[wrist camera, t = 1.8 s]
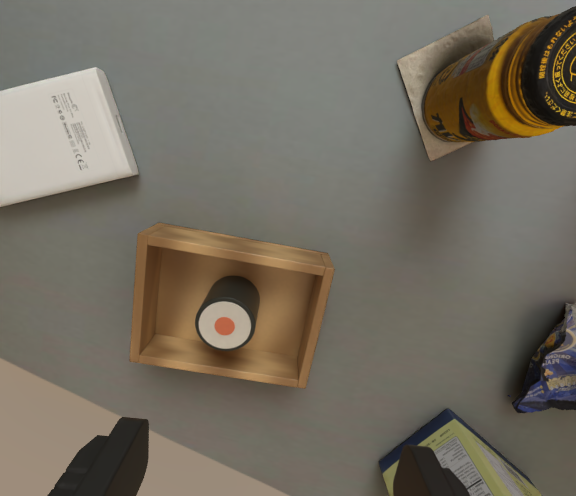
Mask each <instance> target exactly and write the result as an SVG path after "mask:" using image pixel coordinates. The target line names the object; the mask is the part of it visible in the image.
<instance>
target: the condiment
mask: <svg viewBox="0 0 576 496" xmlns="http://www.w3.org/2000/svg"><path fill="white" fill-rule="evenodd" d="M397 63H398V66H399V69H400V71H401V75H402V78H403V81H404V83H405V86H406V90H407V93H408V96H409V98H410V102H411V105H412V108H413V112H414V115H415V118H416V121H417V124H418V127H419V130H420V133H421V136H422V139H423V142H424V145H425V148H426V151H427V154H428V157H429V159H430V161H433V160H435V159H437V158H440V157H442V156H444V155H446V154H448V153H450V152H452V151H454V150H456V149H459V148H461V147H463V146H465V145H467V144H469V143H472V142H475V141H485V140H498V139H507V138H525V137H527V138H529V137H532V136H539V135H542V134H546V133H549V132H552V131H554V130H555V129H558V128H560V127H563V126H570V125H573V126H576V6H575V7H572V8H570V9H569V10H567V11H564V12H562V13H561V14H558V15H555V16H550V17H542V18H538V19H535V20H532V21H530V22H527V23H524V24H523V25H521V26H519V27H517V28H516V29H514V30H513V31H511V32H509V33H507V34H505V35H503V36H502V37H499V38H498V39H497V40H495V41H494V38H493V32H492V26H491V24H490V20H489V16H488V15H486V16H484V17H482V18H480V19H478V20H477V21H475V22H473V23H471V24H469V25H467V26H465V27H463V28H461V29H459V30H457V31H455V32H453V33H451V34H449V35H447V36H445V37H443V38H441V39H439V40H437V41H435V42H434V43H431V44H429V45H427V46H425V47H423V48H421V49H419V50H417V51H415V52H414V53H412V54H409V55H407V56H405V57H403V58H401V59H399V60H398V61H397Z"/></svg>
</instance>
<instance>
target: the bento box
mask: <svg viewBox="0 0 576 496" xmlns="http://www.w3.org/2000/svg"><path fill="white" fill-rule="evenodd" d="M334 270H335V269H334V266H333V264H332V262H331V260H330V257H329V255H328V253H323V252H318V251H312V250H307V249H301V248H296V247H290V246H285V245H279V244H274V243H268V242H263V241H257V240H252V239H246V238H241V237H235V236H230V235H224V234H219V233H213V232H208V231H202V230H197V229H191V228H186V227H180V226H175V225H169V224H164V223H157V224H156V225H153V226H152V227H150V228H148V229H146V230H144V231H142V232H140V233H138V238H137V253H136V269H135V284H134V300H133V315H132V331H131V346H130V362H136V363H142V364H149V365H155V366H162V367H168V368H174V369H181V370H187V371H194V372H200V373H207V374H213V375H220V376H226V377H232V378H239V379H245V380H252V381H258V382H265V383H271V384H277V385H284V386H290V387H298V388H304V389H305V388H306V385H307V381H308V377H309V372H310V368H311V364H312V360H313V356H314V352H315V348H316V344H317V340H318V336H319V332H320V328H321V323H322V319H323V315H324V311H325V307H326V303H327V299H328V295H329V291H330V287H331V283H332V279H333V275H334ZM226 276H241V277H244V278H246V279H248V280H249V281H251V282H252V283H253V284H254V285H255V287H256V288H257V290H258V292H259V296H260V305H259V310H258V316H257V322H256V328H255V332H254V335H253V337H252V338H251V340H250V341H249V342H248V343H247V344H246V345H245V346H243V347H241V348H239V349H237V350H233V351H220V350H216V349H213V348H211V347H210V346H208V345H206V344H205V343H204V342H203V341H202V340H201V339H200V337H199V336H198V334H197V331H196V328H195V318H196V314H197V312H198V310H199V308H200V306H201V305H202V303H203V301H204V299H205V298H206V296H207V294H208V292H209V291H210V289H211V287H212V286H213V284H214V283H215V282H216V281H218V280H219V279H221V278H223V277H226Z"/></svg>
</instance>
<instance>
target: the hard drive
mask: <svg viewBox="0 0 576 496" xmlns="http://www.w3.org/2000/svg"><path fill="white" fill-rule="evenodd" d="M135 175H139V171H138V167H137V164H136V161H135V158H134V155H133V152H132V149H131V146H130V144H129V141H128V138H127V135H126V132H125V129H124V126H123V123H122V120H121V117H120V114H119V111H118V109H117V106H116V103H115V100H114V97H113V94H112V91H111V88H110V86H109V83H108V80H107V77H106V75H105V73H104V72H103V70H100V69H98V68H96V67H95V68H91V69H87V70H83V71H79V72H74V73H70V74H66V75H62V76H58V77H54V78H50V79H46V80H42V81H38V82H34V83H30V84H26V85H22V86H18V87H14V88H10V89H6V90H2V91H0V207H3V206H7V205H11V204H15V203H20V202H24V201H28V200H32V199H37V198H41V197H45V196H49V195H53V194H58V193H62V192H66V191H70V190H75V189H79V188H83V187H87V186H92V185H96V184H100V183H104V182H108V181H113V180H117V179H121V178H126V177H130V176H135Z"/></svg>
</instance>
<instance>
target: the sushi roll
mask: <svg viewBox="0 0 576 496" xmlns="http://www.w3.org/2000/svg"><path fill="white" fill-rule="evenodd" d="M259 305H260V296H259V292H258V290H257V288H256V287H255V285H254V284H253V283H252V282H251V281H249V280H248V279H246V278H244V277H241V276H226V277H223V278H221V279H219V280H218V281H216V282H215V283H214V284H213V286H212V287H211V289H210V291H209V292H208V294H207V296H206V298H205V299H204V301H203V303H202V305H201V306H200V308H199V310H198V312H197V314H196V318H195V328H196V331H197V334H198V336H199V337H200V339H201V340H202V341H203V342H204V343H205V344H206V345H208V346H210V347H211V348H213V349H216V350H220V351H233V350H237V349H239V348H241V347H243V346H245V345H246V344H247V343H248V342H249V341H250V340H251V338H252V337H253V335H254V332H255V328H256V322H257V316H258V310H259Z"/></svg>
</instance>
